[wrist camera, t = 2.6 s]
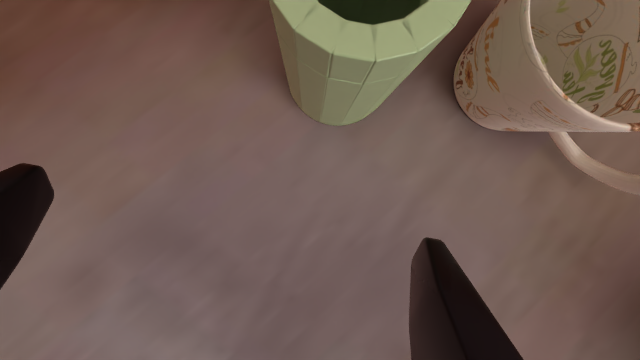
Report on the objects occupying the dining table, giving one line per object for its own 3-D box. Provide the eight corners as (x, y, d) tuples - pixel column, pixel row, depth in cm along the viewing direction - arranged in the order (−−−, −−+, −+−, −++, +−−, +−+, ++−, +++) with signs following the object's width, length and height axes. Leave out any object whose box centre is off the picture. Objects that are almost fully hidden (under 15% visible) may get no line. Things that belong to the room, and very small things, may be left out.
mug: (510, -15, 23) (660, -157, 13) (637, 145, 24) (876, 121, 14) (405, 71, 23) (477, -8, 13) (534, 231, 24) (700, 270, 14)
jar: (378, 133, 23) (463, 77, 10) (280, 116, 23) (241, 38, 10) (394, 35, 23) (500, -144, 10) (297, 18, 23) (279, -186, 10)
